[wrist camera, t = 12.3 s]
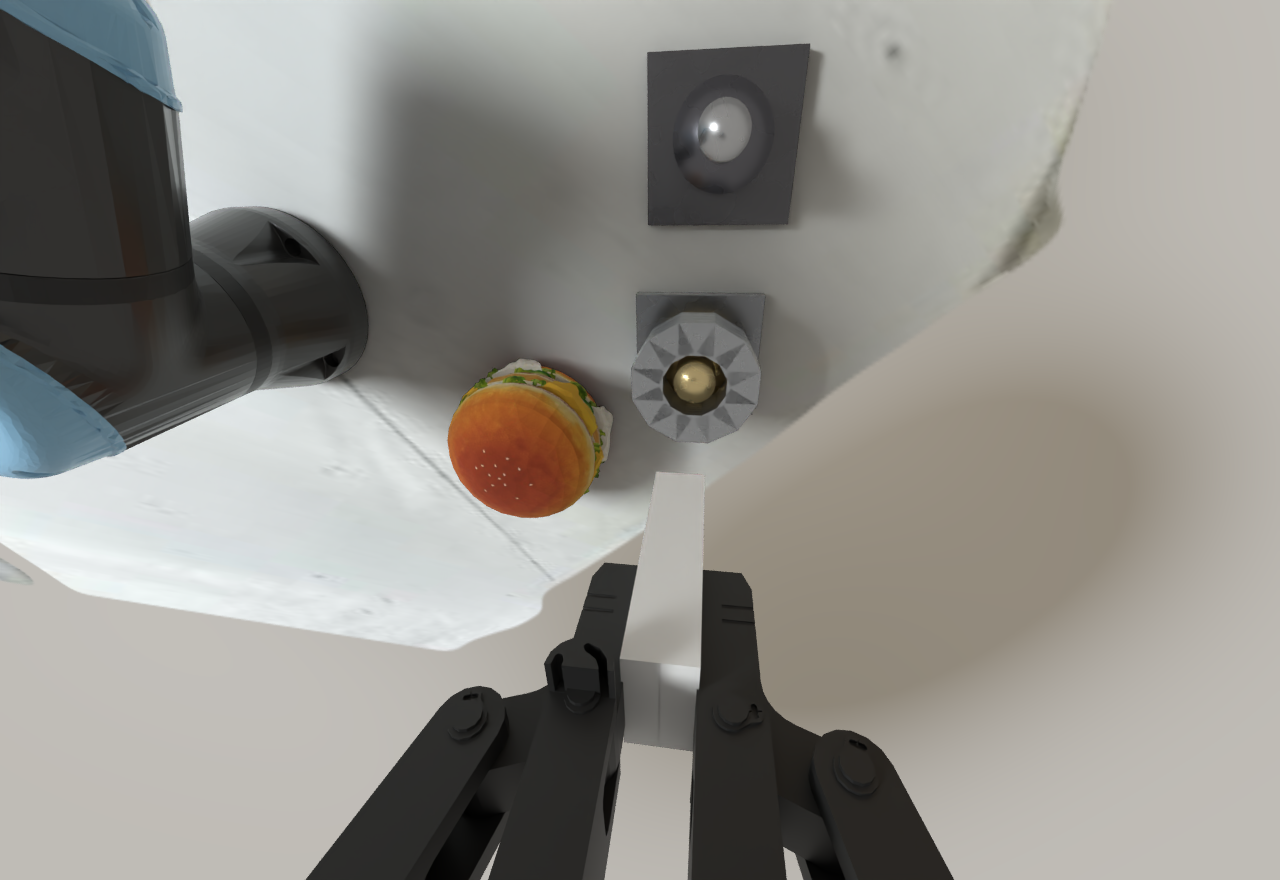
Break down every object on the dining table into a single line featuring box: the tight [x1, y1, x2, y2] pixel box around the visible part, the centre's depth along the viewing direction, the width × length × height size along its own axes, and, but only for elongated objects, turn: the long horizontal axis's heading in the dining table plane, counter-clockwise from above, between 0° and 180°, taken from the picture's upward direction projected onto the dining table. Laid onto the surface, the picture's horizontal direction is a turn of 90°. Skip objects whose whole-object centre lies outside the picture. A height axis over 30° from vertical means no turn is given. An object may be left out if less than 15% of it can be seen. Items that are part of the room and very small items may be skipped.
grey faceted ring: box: [631, 312, 761, 443], centre depth 34 cm, size 9×9×3 cm
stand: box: [647, 44, 810, 225], centre depth 28 cm, size 10×10×9 cm
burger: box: [448, 358, 613, 518], centre depth 40 cm, size 14×14×10 cm
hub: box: [636, 292, 765, 414], centre depth 36 cm, size 10×10×7 cm
